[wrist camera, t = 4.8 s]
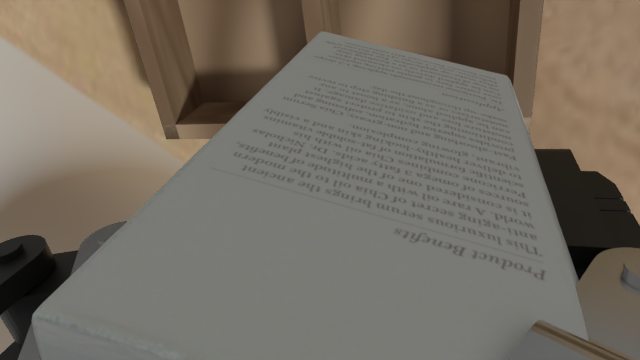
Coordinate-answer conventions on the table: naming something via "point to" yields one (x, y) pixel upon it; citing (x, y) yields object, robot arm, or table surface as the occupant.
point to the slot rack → (298, 30)
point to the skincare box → (335, 228)
